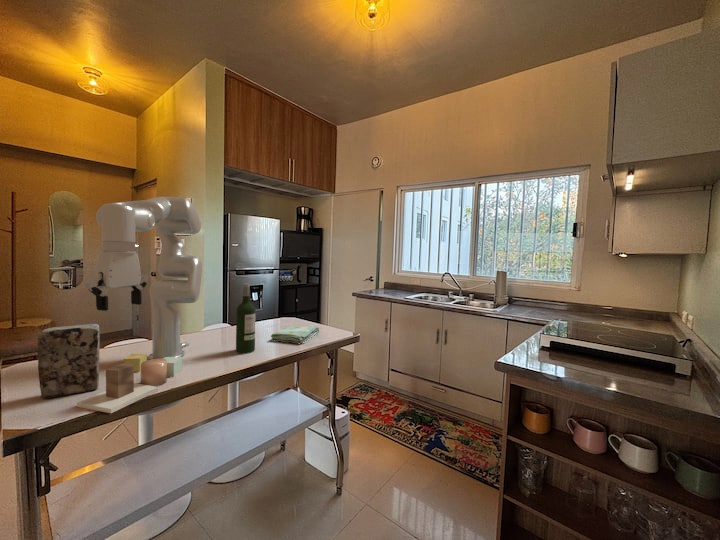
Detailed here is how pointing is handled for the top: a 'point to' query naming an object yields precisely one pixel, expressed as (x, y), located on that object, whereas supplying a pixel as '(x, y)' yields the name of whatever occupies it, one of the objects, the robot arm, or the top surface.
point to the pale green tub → (174, 365)
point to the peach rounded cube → (154, 372)
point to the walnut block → (119, 380)
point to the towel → (295, 334)
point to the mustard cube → (135, 361)
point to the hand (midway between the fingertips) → (120, 307)
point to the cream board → (116, 399)
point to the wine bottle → (245, 324)
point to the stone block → (68, 359)
